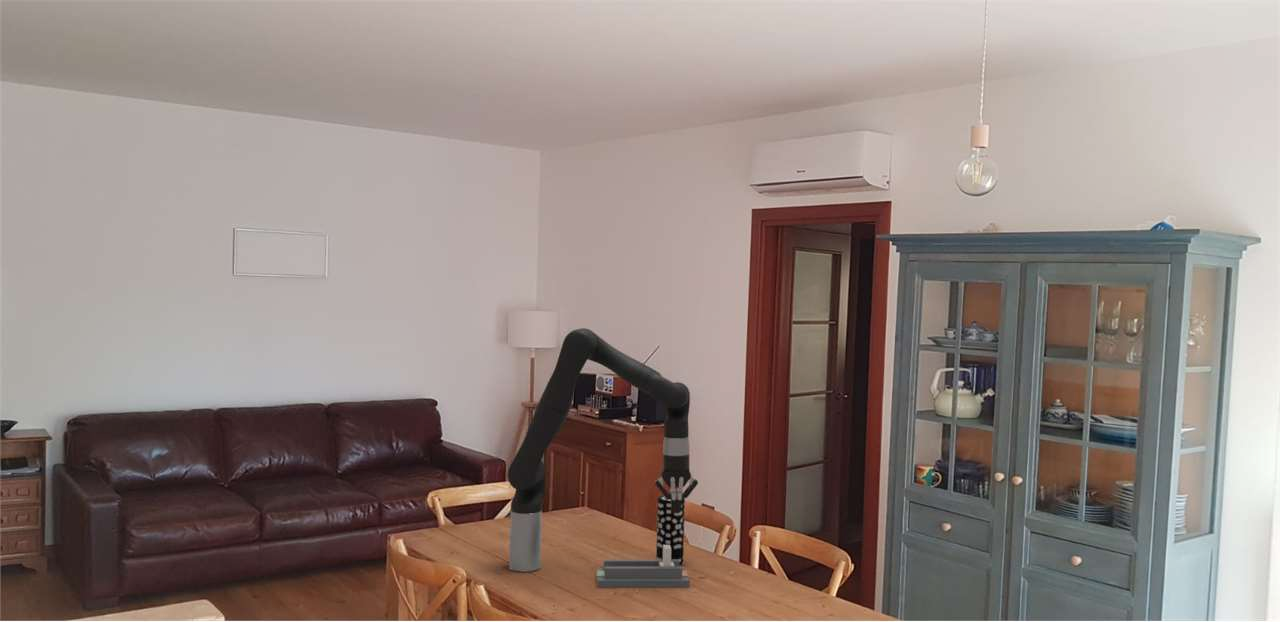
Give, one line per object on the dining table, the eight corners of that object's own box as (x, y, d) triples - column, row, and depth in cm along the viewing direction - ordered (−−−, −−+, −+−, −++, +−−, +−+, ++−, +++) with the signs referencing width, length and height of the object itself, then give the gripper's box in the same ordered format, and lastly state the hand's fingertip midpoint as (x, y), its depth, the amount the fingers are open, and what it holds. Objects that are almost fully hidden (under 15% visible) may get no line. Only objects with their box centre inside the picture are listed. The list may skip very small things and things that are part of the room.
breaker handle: (660, 575, 271) (660, 548, 271) (658, 571, 275) (659, 544, 275) (674, 575, 271) (674, 548, 271) (672, 571, 275) (673, 544, 275)
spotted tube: (680, 567, 287) (682, 502, 286) (653, 565, 288) (655, 500, 288) (685, 560, 295) (686, 496, 294) (658, 558, 296) (660, 494, 296)
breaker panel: (597, 587, 266) (597, 570, 266) (596, 574, 278) (596, 557, 278) (689, 587, 268) (689, 570, 268) (684, 574, 280) (684, 557, 280)
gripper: (654, 455, 268) (654, 516, 268) (700, 454, 269) (700, 515, 269) (652, 450, 276) (652, 510, 276) (697, 450, 276) (697, 509, 277)
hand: (676, 512), depth 273 cm, fingers closed
